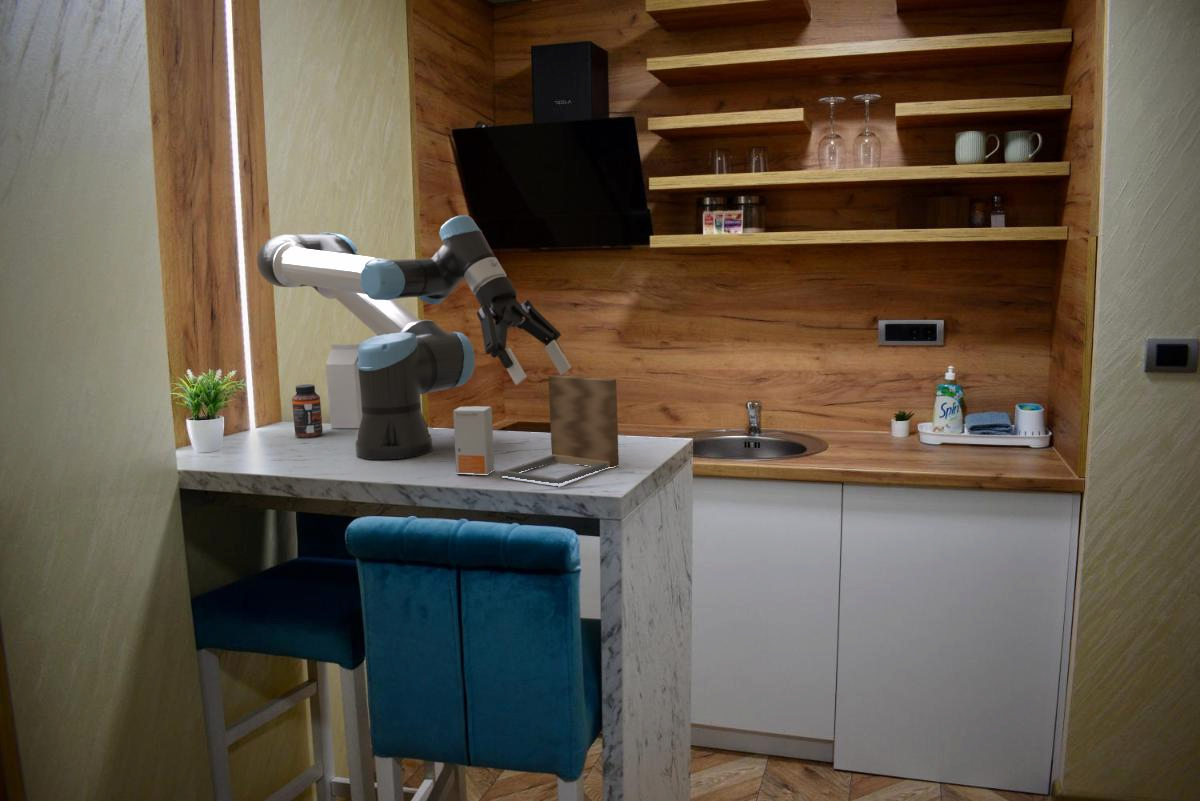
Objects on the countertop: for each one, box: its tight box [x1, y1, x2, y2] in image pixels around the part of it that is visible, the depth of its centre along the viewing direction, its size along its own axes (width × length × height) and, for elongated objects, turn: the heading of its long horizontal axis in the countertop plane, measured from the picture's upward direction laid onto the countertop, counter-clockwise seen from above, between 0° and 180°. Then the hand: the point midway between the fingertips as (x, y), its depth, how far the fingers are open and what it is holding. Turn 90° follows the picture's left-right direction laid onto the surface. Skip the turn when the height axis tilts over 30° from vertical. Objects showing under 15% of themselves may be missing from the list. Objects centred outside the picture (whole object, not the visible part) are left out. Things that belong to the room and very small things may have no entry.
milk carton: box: [325, 343, 362, 429], centre depth 215 cm, size 7×7×19 cm
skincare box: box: [452, 405, 495, 474], centre depth 168 cm, size 6×4×12 cm
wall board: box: [547, 374, 620, 467], centre depth 172 cm, size 14×2×16 cm, turn 54°
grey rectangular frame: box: [500, 453, 610, 484], centre depth 167 cm, size 13×15×1 cm
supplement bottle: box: [291, 384, 324, 439], centre depth 206 cm, size 6×6×11 cm
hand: (544, 376), depth 180 cm, fingers open, 13 cm apart
